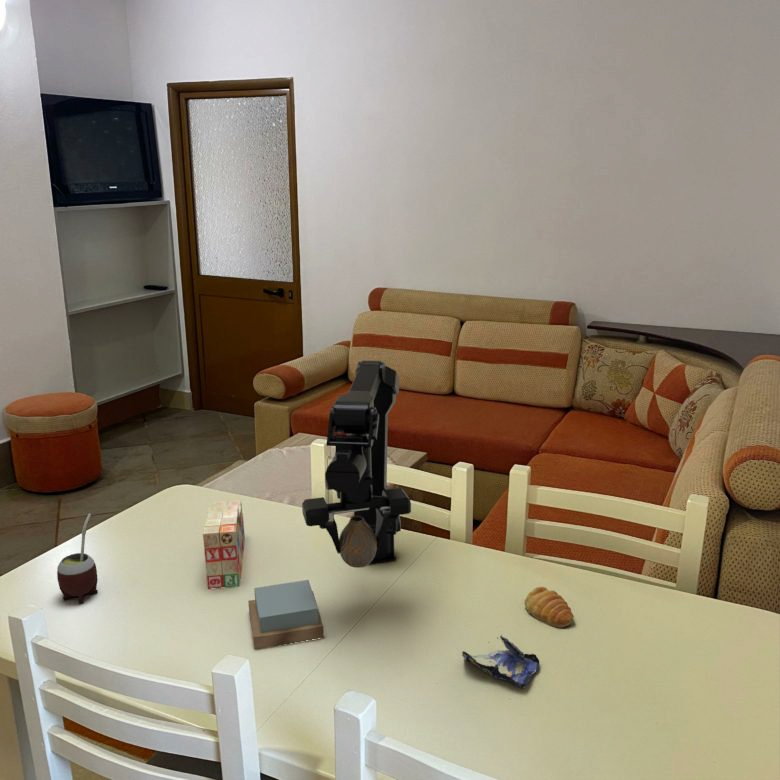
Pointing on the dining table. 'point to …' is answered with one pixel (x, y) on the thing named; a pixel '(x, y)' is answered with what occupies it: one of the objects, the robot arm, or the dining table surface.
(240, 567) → the stack of blocks
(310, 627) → the tower base
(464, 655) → the snack package
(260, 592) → the tower top
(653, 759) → the dining table surface
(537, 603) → the pastry
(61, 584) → the mate gourd
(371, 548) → the vase
